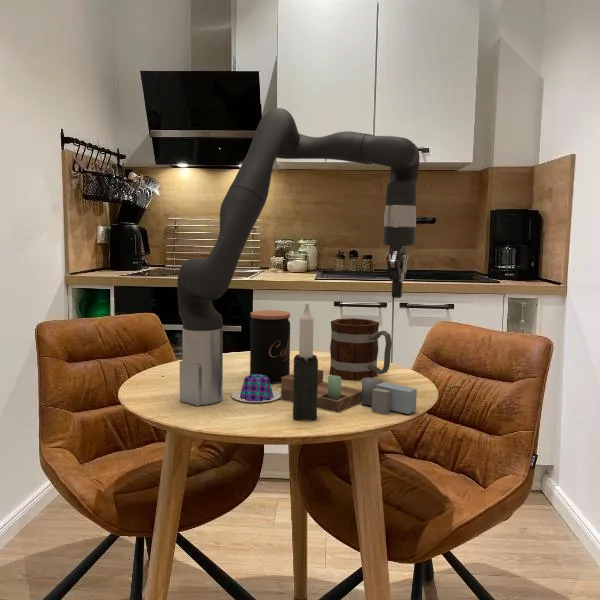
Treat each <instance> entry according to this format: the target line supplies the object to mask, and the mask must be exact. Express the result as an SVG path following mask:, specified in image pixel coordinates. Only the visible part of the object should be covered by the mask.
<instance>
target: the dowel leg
mask: <svg viewBox="0 0 600 600" xmlns="http://www.w3.org/2000/svg"><path fill="white" fill-rule="evenodd" d="M327 377H328V378H327V383H328V398H329V399H334V400H338V399H341V385H342V379H341V377H340V376H335V375H332V376H331V375H329V376H327Z"/></svg>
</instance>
